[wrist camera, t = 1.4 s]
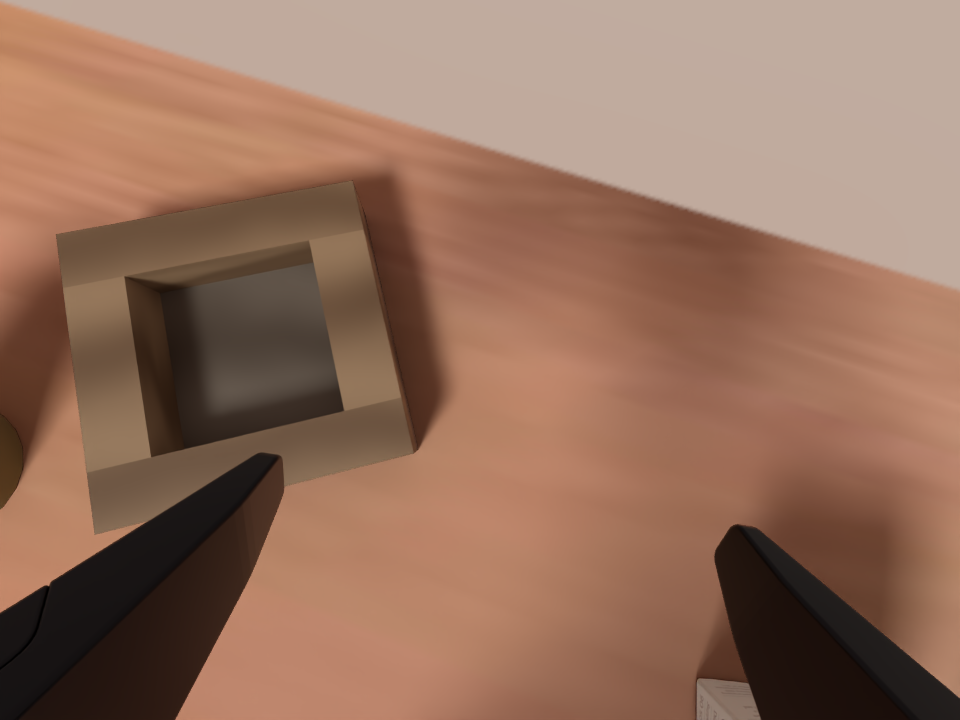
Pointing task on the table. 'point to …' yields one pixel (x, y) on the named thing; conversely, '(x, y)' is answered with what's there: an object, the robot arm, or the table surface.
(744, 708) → the supplement box
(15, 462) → the olive mushroom shape
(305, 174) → the table surface
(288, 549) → the table surface
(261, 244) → the walnut pocket block
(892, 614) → the table surface
